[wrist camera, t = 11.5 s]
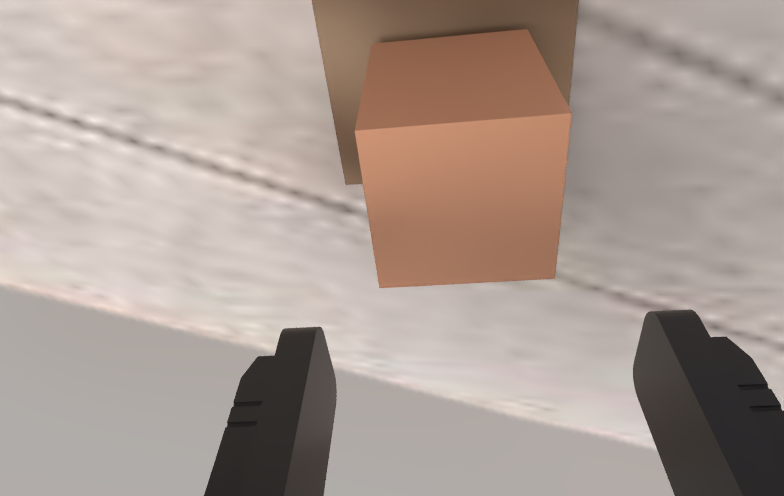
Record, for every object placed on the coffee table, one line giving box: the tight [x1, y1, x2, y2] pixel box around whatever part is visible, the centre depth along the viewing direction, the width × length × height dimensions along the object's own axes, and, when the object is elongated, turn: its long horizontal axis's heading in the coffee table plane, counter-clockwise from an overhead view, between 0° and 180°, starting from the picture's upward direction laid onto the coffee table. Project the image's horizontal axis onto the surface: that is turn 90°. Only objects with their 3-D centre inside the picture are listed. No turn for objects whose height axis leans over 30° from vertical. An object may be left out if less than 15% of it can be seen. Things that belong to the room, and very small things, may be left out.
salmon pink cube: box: [355, 29, 572, 288], centre depth 17 cm, size 5×5×7 cm
